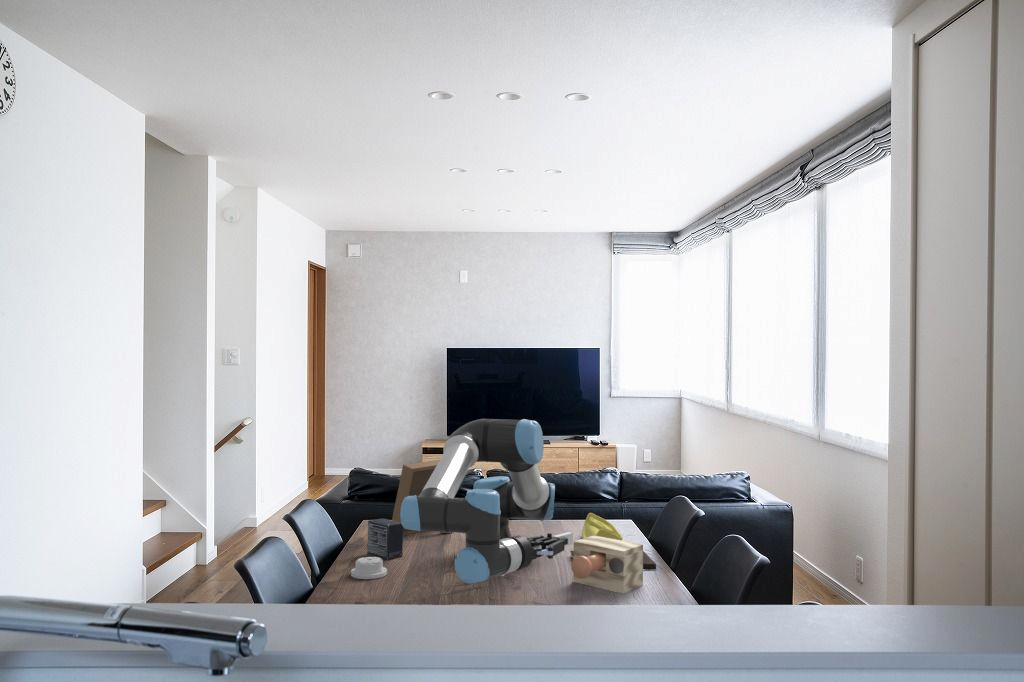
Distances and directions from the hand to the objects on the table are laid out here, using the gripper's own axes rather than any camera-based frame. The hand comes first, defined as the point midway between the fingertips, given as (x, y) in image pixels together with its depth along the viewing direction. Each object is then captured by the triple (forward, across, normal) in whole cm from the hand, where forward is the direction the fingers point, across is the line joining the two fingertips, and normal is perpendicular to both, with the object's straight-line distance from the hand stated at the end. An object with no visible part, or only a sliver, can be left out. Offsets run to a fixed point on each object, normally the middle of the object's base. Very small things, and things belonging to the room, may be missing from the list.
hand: (570, 537), depth 187 cm
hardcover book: (+38, -11, -16) cm, 43 cm away
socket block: (+19, -1, -16) cm, 24 cm away
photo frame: (+27, -81, -15) cm, 87 cm away
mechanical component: (-19, -56, -16) cm, 61 cm away
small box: (-2, -68, -16) cm, 70 cm away
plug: (+11, -1, -11) cm, 16 cm away
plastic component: (+61, -30, -15) cm, 70 cm away
